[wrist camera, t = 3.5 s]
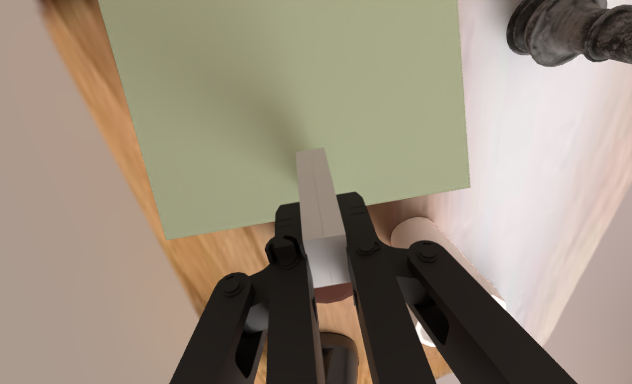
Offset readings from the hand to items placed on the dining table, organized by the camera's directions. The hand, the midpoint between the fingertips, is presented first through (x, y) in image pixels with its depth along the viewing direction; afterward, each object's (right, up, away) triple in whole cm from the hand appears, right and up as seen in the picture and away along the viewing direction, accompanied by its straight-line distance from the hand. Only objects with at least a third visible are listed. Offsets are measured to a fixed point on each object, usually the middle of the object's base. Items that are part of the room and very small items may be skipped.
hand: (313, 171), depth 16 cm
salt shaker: (+20, +14, +10) cm, 27 cm away
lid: (-1, +4, +2) cm, 5 cm away
